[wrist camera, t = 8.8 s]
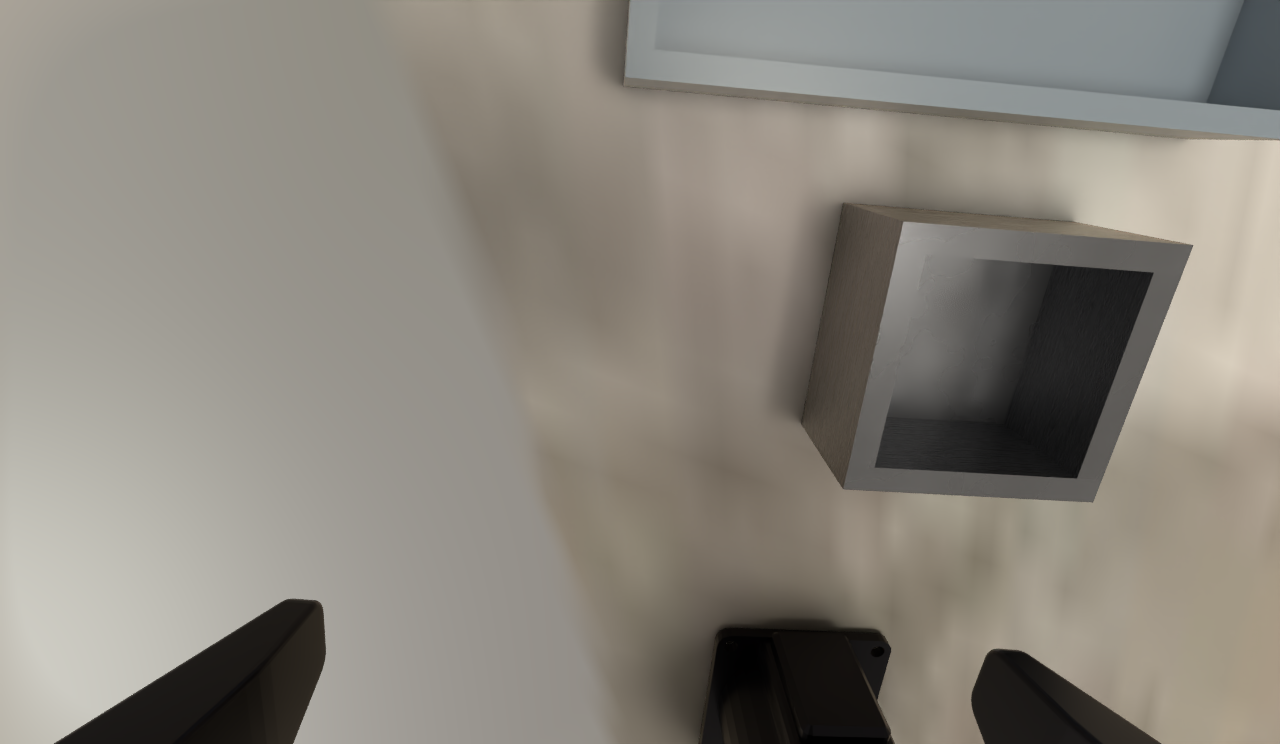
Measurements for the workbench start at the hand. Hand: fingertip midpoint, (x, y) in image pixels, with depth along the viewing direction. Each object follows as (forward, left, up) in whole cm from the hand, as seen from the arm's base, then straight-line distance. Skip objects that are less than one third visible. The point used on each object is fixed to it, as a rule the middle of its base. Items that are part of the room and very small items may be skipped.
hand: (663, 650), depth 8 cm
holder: (+2, -9, -12) cm, 15 cm away
